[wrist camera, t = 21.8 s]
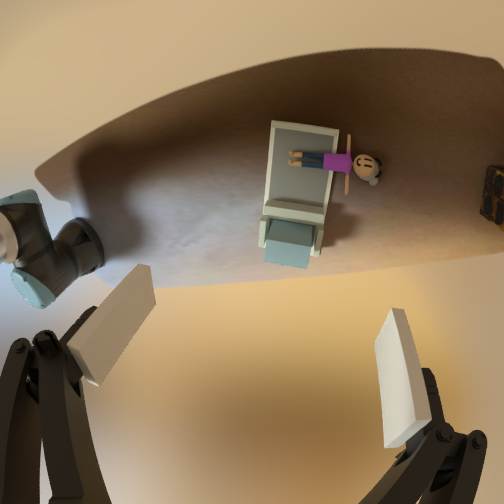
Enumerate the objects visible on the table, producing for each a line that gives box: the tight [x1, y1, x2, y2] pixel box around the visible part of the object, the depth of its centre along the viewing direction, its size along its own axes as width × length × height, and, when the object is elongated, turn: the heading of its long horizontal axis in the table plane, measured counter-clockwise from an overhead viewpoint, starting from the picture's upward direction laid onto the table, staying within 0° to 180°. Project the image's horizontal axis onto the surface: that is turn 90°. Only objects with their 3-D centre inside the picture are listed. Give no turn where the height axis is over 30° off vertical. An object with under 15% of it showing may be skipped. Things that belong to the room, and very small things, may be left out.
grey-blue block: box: [264, 220, 312, 269], centre depth 47 cm, size 7×4×8 cm, turn 85°
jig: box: [258, 120, 339, 256], centre depth 45 cm, size 11×24×4 cm, turn 176°
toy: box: [288, 134, 382, 195], centre depth 42 cm, size 10×6×15 cm
